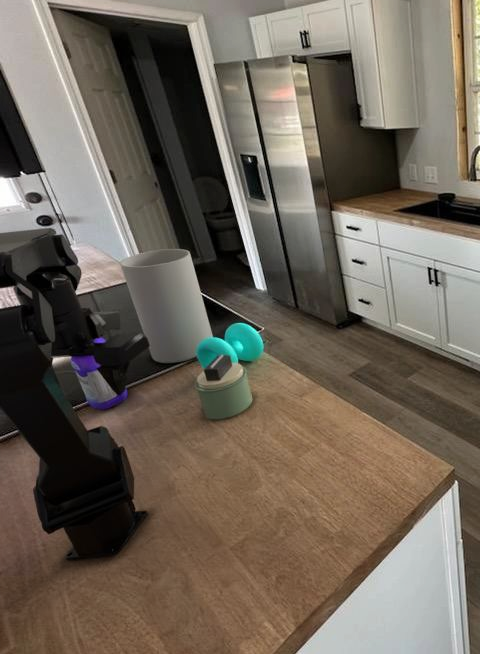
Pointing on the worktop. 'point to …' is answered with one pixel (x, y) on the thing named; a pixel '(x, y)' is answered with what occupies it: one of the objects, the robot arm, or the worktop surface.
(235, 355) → the cyan spool
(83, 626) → the worktop surface
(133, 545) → the worktop surface
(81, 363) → the bottle
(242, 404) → the green lidded jar
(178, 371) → the worktop surface
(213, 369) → the clip
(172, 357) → the cylinder vase
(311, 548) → the worktop surface
